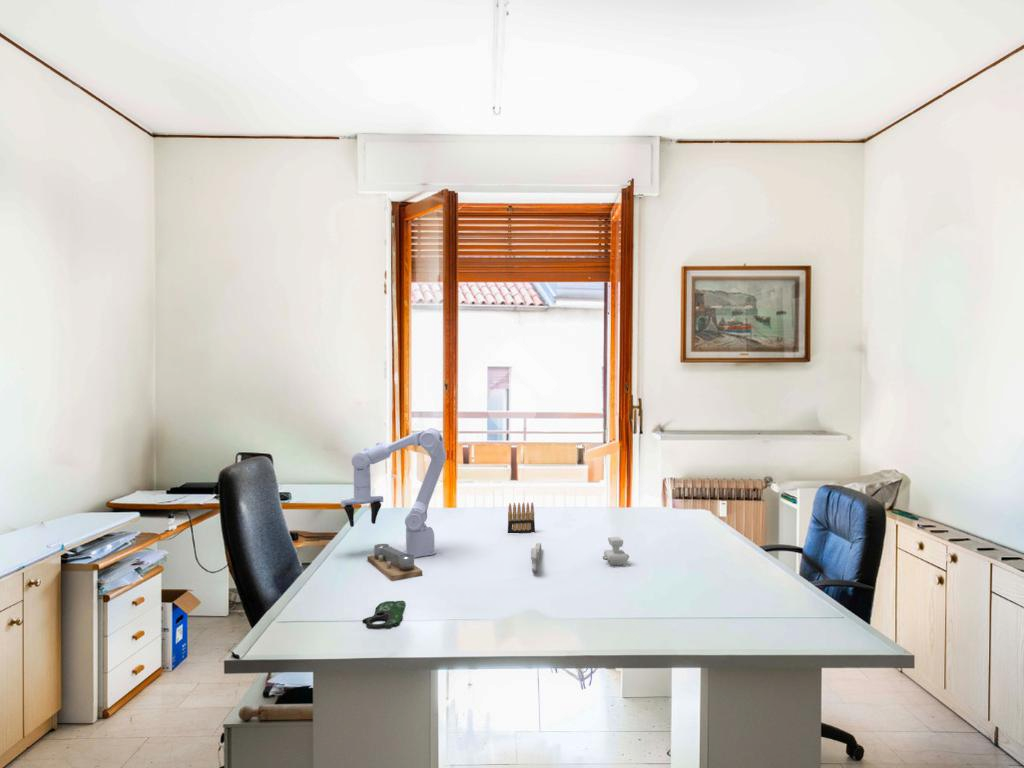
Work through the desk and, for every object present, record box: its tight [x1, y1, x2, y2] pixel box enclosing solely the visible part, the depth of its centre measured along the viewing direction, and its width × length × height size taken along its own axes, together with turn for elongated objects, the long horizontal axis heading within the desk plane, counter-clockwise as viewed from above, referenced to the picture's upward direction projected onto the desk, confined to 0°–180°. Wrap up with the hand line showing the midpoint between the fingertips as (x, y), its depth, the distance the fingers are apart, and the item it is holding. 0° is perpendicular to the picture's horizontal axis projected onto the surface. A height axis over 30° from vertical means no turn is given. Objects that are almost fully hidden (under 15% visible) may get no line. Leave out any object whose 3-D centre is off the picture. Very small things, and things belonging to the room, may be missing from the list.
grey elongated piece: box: [373, 543, 415, 571], centre depth 205 cm, size 5×21×4 cm, turn 40°
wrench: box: [530, 542, 542, 573], centre depth 209 cm, size 8×2×30 cm
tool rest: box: [366, 554, 423, 582], centre depth 205 cm, size 10×24×4 cm, turn 31°
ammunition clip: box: [507, 501, 536, 534], centre depth 247 cm, size 11×2×12 cm, turn 97°
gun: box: [361, 600, 406, 630], centre depth 165 cm, size 16×2×10 cm
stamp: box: [602, 536, 630, 566], centre depth 207 cm, size 9×7×8 cm
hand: (362, 524), depth 220 cm, fingers open, 7 cm apart
